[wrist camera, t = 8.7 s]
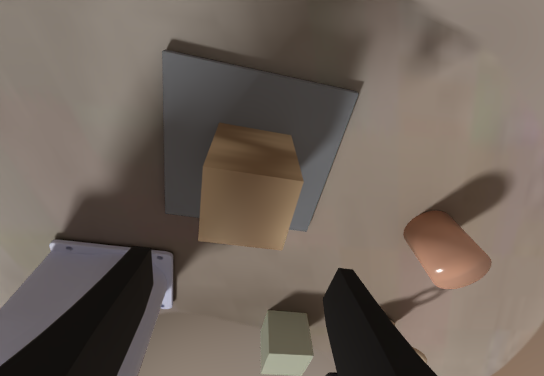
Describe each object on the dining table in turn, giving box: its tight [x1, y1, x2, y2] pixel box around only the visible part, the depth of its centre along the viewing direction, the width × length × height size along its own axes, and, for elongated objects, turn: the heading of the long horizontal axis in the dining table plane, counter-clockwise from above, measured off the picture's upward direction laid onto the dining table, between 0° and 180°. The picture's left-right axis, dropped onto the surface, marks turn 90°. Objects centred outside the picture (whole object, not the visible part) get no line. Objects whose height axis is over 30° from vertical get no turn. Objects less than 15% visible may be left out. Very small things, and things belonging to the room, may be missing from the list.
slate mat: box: [162, 50, 358, 232], centre depth 17 cm, size 11×11×1 cm
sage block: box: [260, 310, 314, 376], centre depth 28 cm, size 4×4×4 cm
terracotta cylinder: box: [404, 211, 491, 289], centre depth 20 cm, size 4×4×4 cm
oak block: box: [198, 123, 304, 250], centre depth 15 cm, size 4×4×6 cm
